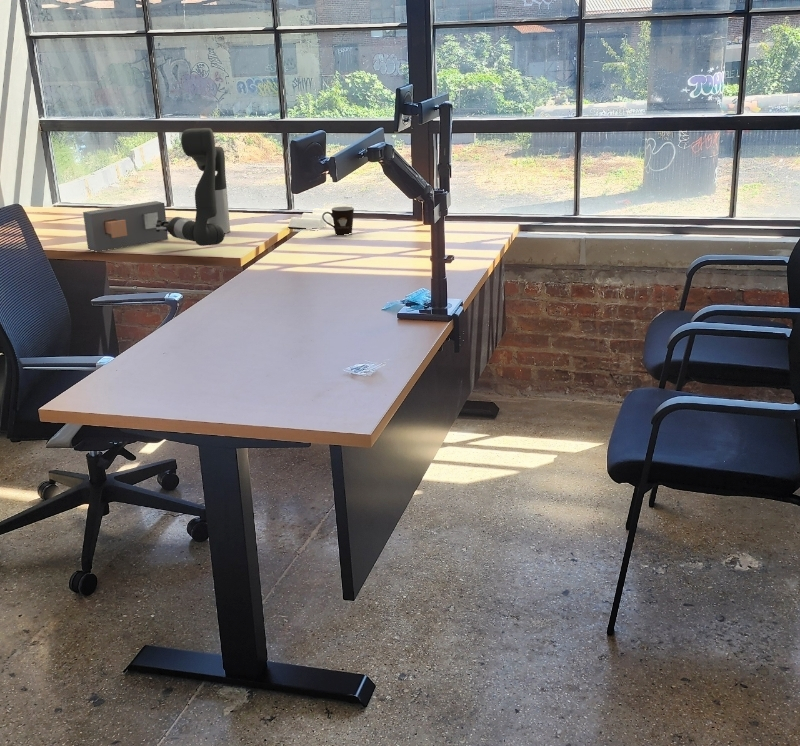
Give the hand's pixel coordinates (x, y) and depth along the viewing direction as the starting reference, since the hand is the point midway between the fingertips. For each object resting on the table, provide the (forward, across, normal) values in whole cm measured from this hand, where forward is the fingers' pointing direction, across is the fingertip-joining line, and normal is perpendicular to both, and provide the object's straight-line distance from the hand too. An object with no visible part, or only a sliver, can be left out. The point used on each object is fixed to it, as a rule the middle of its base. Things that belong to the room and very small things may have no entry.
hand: (158, 222), depth 342 cm
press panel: (+10, +8, +8) cm, 15 cm away
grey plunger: (+10, 0, +3) cm, 11 cm away
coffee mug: (-36, -58, +9) cm, 69 cm away
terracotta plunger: (+5, +16, +3) cm, 17 cm away
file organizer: (-11, -69, +9) cm, 70 cm away
